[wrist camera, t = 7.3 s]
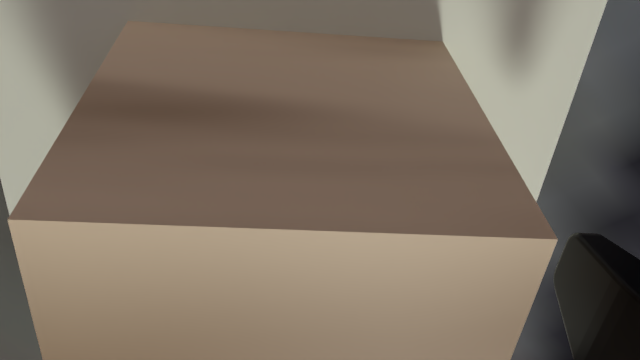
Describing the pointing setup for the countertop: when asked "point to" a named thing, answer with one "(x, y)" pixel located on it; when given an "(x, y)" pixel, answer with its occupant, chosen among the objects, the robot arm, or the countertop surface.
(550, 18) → the riser
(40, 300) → the birch cube
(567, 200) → the countertop surface
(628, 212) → the countertop surface
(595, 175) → the countertop surface
